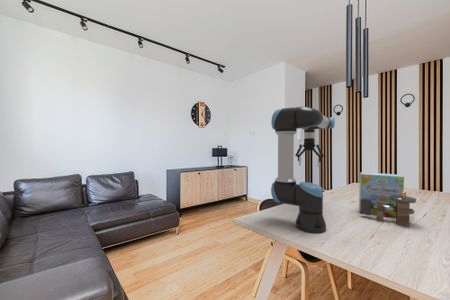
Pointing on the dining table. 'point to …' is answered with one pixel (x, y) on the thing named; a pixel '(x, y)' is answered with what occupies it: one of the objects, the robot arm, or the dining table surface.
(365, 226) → the dining table surface
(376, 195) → the snack box
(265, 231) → the dining table surface
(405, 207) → the notched wooden block
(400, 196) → the lock wheel
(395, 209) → the cube-head mallet
